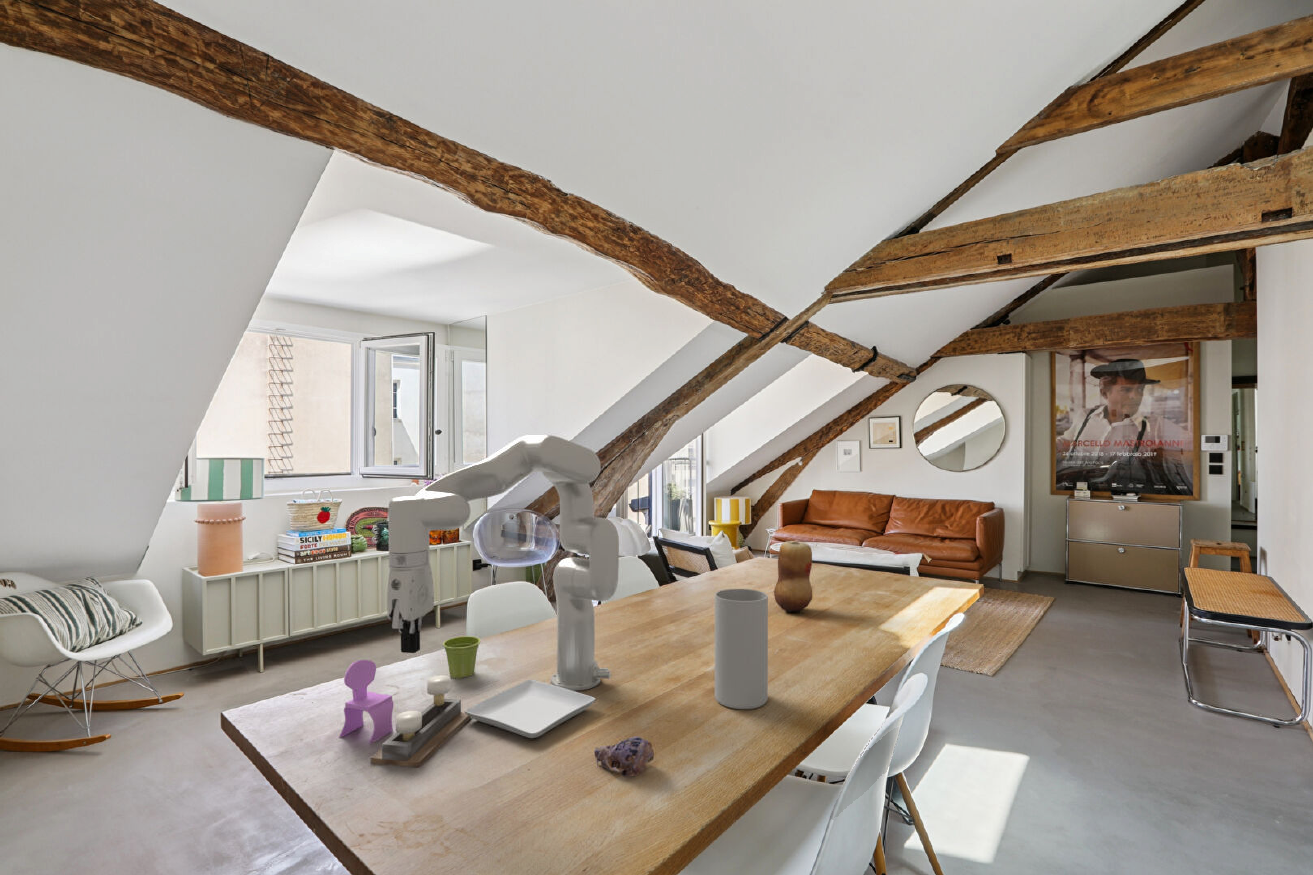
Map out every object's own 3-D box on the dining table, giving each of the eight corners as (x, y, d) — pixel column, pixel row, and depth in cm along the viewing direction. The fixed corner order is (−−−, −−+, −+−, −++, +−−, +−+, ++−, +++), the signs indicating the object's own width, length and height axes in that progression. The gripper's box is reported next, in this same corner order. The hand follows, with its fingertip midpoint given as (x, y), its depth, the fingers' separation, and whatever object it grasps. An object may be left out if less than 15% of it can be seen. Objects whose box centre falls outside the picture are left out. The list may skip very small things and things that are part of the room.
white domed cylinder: (426, 737, 129) (426, 711, 129) (413, 748, 124) (413, 721, 124) (404, 735, 130) (404, 709, 130) (390, 746, 125) (390, 720, 125)
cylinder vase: (771, 693, 157) (771, 590, 157) (762, 713, 145) (762, 603, 145) (721, 686, 161) (721, 587, 161) (709, 706, 149) (709, 598, 149)
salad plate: (534, 749, 129) (534, 732, 129) (461, 724, 141) (461, 708, 141) (598, 711, 147) (598, 696, 147) (529, 691, 159) (529, 678, 159)
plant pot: (469, 682, 164) (469, 648, 164) (436, 679, 165) (436, 646, 165) (486, 669, 173) (486, 637, 173) (454, 667, 175) (454, 635, 175)
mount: (470, 717, 143) (471, 700, 143) (418, 767, 121) (418, 747, 121) (429, 714, 145) (429, 697, 145) (370, 762, 123) (370, 743, 123)
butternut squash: (804, 618, 222) (804, 546, 222) (768, 612, 229) (768, 542, 229) (817, 609, 234) (818, 540, 234) (783, 604, 241) (783, 537, 241)
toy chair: (368, 746, 130) (368, 672, 130) (335, 739, 133) (335, 666, 133) (398, 728, 138) (398, 658, 138) (366, 722, 141) (366, 654, 141)
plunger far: (454, 699, 141) (454, 676, 141) (443, 708, 136) (443, 684, 136) (434, 698, 142) (434, 674, 142) (422, 707, 137) (422, 682, 137)
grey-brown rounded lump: (586, 767, 122) (586, 734, 122) (611, 750, 128) (611, 720, 128) (638, 786, 115) (638, 752, 115) (661, 768, 122) (661, 735, 122)
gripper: (406, 567, 119) (407, 666, 119) (445, 552, 134) (446, 640, 134) (369, 566, 120) (370, 664, 121) (412, 551, 135) (413, 638, 135)
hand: (410, 651), depth 127 cm, fingers closed
